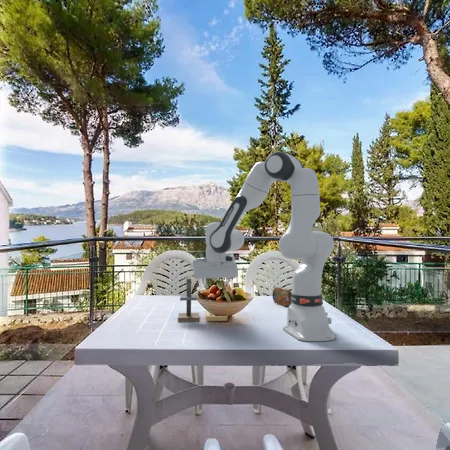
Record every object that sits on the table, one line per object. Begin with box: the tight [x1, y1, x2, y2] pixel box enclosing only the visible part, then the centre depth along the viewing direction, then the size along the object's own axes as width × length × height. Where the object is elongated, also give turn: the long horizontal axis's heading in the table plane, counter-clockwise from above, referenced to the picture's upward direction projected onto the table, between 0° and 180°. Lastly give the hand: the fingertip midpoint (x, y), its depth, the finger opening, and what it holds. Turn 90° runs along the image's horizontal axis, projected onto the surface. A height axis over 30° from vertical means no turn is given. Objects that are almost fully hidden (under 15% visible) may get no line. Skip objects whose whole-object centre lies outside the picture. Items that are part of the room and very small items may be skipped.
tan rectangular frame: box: [205, 310, 228, 322], centre depth 170 cm, size 14×9×2 cm, turn 5°
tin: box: [271, 287, 292, 307], centre depth 194 cm, size 15×3×8 cm, turn 25°
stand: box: [177, 278, 200, 323], centre depth 167 cm, size 9×9×18 cm
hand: (216, 287), depth 174 cm, fingers open, 8 cm apart
